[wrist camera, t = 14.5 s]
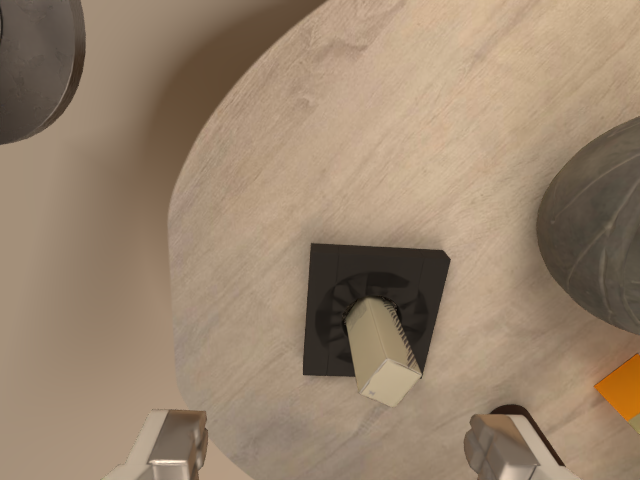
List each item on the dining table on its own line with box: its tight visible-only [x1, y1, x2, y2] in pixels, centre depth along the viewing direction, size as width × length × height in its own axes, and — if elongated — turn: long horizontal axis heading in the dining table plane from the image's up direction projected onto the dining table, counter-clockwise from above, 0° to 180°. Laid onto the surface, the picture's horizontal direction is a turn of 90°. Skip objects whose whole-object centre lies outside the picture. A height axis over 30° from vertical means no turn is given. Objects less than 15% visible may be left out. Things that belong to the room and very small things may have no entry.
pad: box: [303, 243, 451, 379], centre depth 44 cm, size 16×18×2 cm
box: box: [345, 295, 422, 408], centre depth 39 cm, size 5×4×13 cm
